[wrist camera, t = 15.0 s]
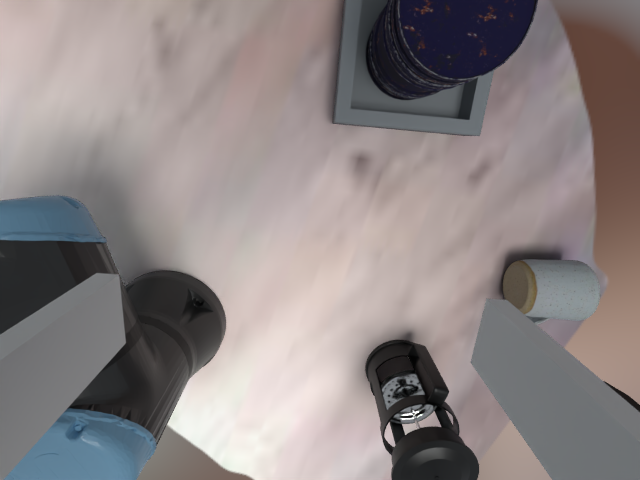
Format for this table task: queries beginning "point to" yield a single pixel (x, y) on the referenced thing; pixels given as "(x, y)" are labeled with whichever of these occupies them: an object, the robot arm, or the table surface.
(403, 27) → the storage jar
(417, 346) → the french press
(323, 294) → the table surface
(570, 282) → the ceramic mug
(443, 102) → the tray
